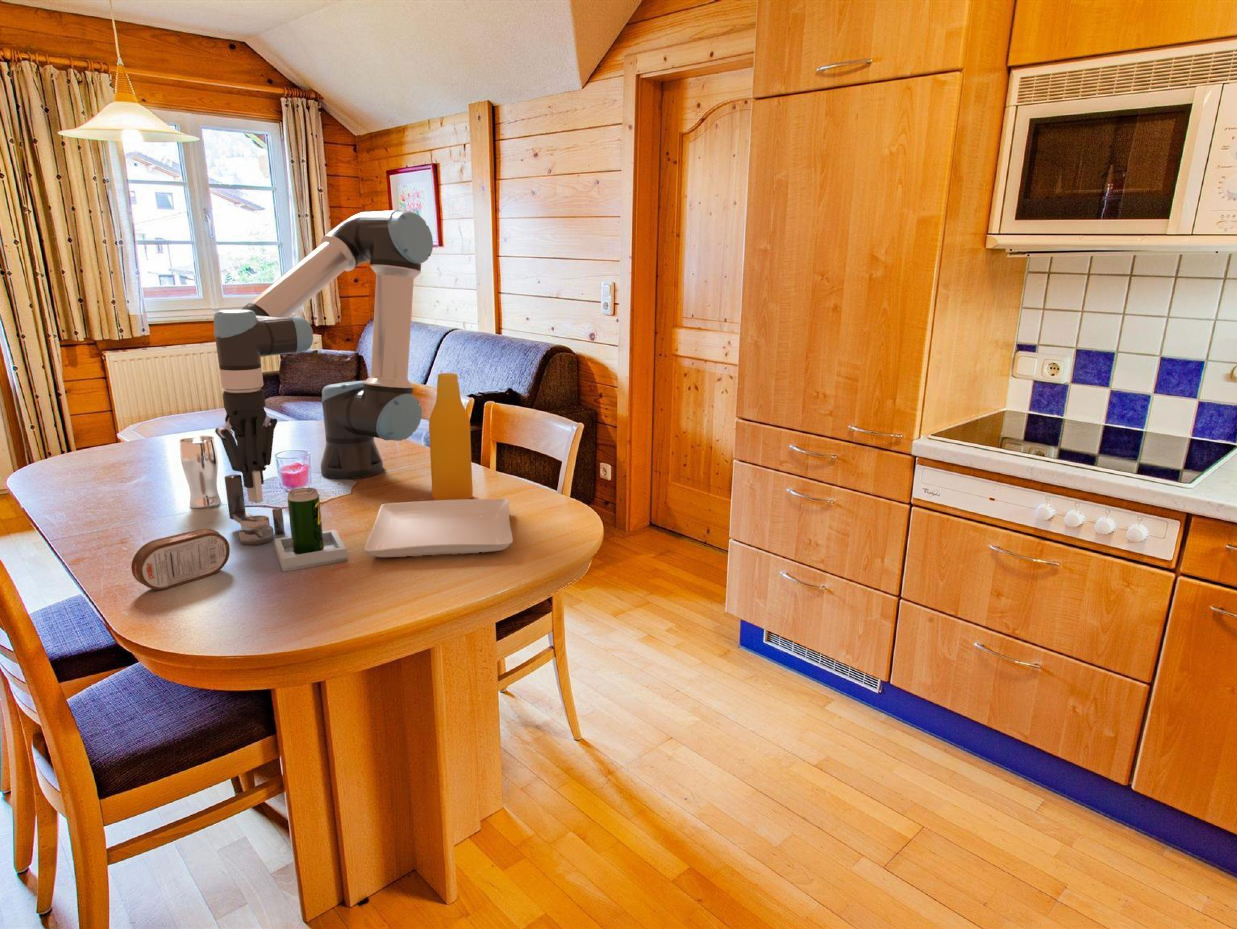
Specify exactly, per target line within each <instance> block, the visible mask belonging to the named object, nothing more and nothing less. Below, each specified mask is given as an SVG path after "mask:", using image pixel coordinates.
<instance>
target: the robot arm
mask: <svg viewBox="0 0 1237 929" xmlns="http://www.w3.org/2000/svg"><path fill="white" fill-rule="evenodd" d="M432 234H433V233H432V231H431V228H430V227H429V225H428V224H427V222H426V220H425V219H424V218H422V216H421V215H420V214H418V213H416V212H413V211H408V210H400V209H397V210H381V211H380V210H378V211H376V210H374V211H373V210H366V211H362V212H359V213H358V212H357V213H356V214H354V215H352V216H350V217H348V218H347V219H345V220H344V221H342V222H340V223H339V224H338V225H337V226H335V227H333V228H332V229H331V230H330V231H328V232H327V233H326V234H325V235H323V236H322V237H321V239H320V245H319V246H317V247H316V248H315V249H313V250H312V251H311V252H310V253H308V255H306V256H305V257H304V258H303V259H301V260H300V261H299V262H297V263H296V264H295V265H294V266H292V268H290V269H289V270H288V271H286V272H285V273H284V274H283V275H282V276H280V277H279V278H278V279H277V280H275V281H274V282H273V283H272V284H270V285H269V286H267V288H265V289H264V290H262V292H260V294H258V295H256V297H254V298H253V299H252V300H251V301H250V302H248V303H247V304H246V305H244V306H243V307H242V308H240V309H223V310H217V311H216V312H215V313H214V315H213V335H214V338H215V339H214V340H215V345H216V352H217V353H216V355H217V360H218V366H219V367H218V368H219V378H220V384H221V388H222V389H223V391H222V393H221V394H222V401H223V408H224V410H225V412H226V415H225V419H224V422H225V423H224V424H223V425H222V426H221V427H216V428H215V430H214V434H216V435H217V436H218V438H220V440H221V442H222V446H223V449H224V451H225V453H226V456H227V459H228V462H229V463H230V466H231V469H232V471H235V472H238V473H241V474H242V483H243V487H244V488H246V490H247V498H248V499H247V500H248V502H251V503H256V504H259V503H262V502H264V496H263V487H262V485H264V481H265V479H264V474H263V471H266V470H267V466H270V464H271V462H272V454H273V442H274V433H275V428H276V426H277V424H278V419H277V418H274V417H270V416H269V415H267V412H266V410H265V409H264V408H265V407H266V398H265V390H264V389H263V388H262V387H263V386H264V379H263V378H264V376H263V370H262V359H261V357H263V358H264V357H265V358H266V357H269V356H279V355H287V354H288V355H289V354H290V355H291V354H293V355H296V354H297V353H303V352H306V351H308V350H310V348H311V347H312V345H313V342H314V336H313V335H314V331H313V328H312V326H311V324H310V322H309V320H307V319H306V318H304V317H302V316H292V315H294V314H295V313H296V312H297V311H299V309H300V308H302V307H303V306H304V305H305V304H307V303H308V302H309V301H310V300H311V299H313V298H314V297H315V296H316V295H317V294H318V293H320V292H321V291H322V290H323V289H324V288H325V287H327V286H328V285H329V284H330V283H331V282H333V281H334V280H335V279H336V278H337V277H338V276H340V275H341V274H342V273H344V271H345V272H350V271H351V272H352V271H353V270H354V269H355V268H356V267H357V266H359V265H361V264H363V263H364V264H365V263H369V267H370V268H371V270H372V271H373V273H374V274H375V276H376V277H375V289H374V290H375V292H374V293H375V295H374V310H373V311H374V313H373V326H372V329H373V330H372V345H371V364H370V365H371V366H370V367H371V368H370V375H369V377H368V378H366V379H365V380H355V381H345V382H339V383H332V384H331V383H330V384H328V385H326V386H324V387H323V388H322V389H321V405H322V413H323V414H322V415H323V424H324V434H325V447H324V450H323V454H322V459H321V462H320V470H321V471H320V472H321V475H322V476H324V477H327V478H330V479H339V480H343V479H345V480H349V479H350V480H351V479H359V478H360V479H361V478H366V477H367V478H368V477H371V476H374V475H377V474H379V473H381V472H383V470H384V462H383V458H382V456H381V454H380V451H379V449H378V447H377V444H376V442H375V438H377V439H381V440H383V441H394V442H397V441H398V442H400V441H404V440H407V439H409V438H410V437H411V436H412V435H413V433H414V432H416V431H417V429H418V428H419V426H420V424H421V420H422V416H423V407H422V404H421V403H420V400H419V398H417V396H415V395H414V385H413V384H412V383H411V381H409V379H408V376H409V374H408V373H409V360H410V341H411V328H412V327H411V326H412V314H413V313H412V311H413V299H414V298H413V296H414V295H413V294H414V293H413V292H414V280H415V278H416V277H418V276H419V275H420V274H421V270H422V264H423V263H424V262H426V261H428V259H429V258H430V257H431V255H432V253H433V248H434V242H433V241H434V239H433V235H432ZM233 434H234V436H233Z"/></svg>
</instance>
